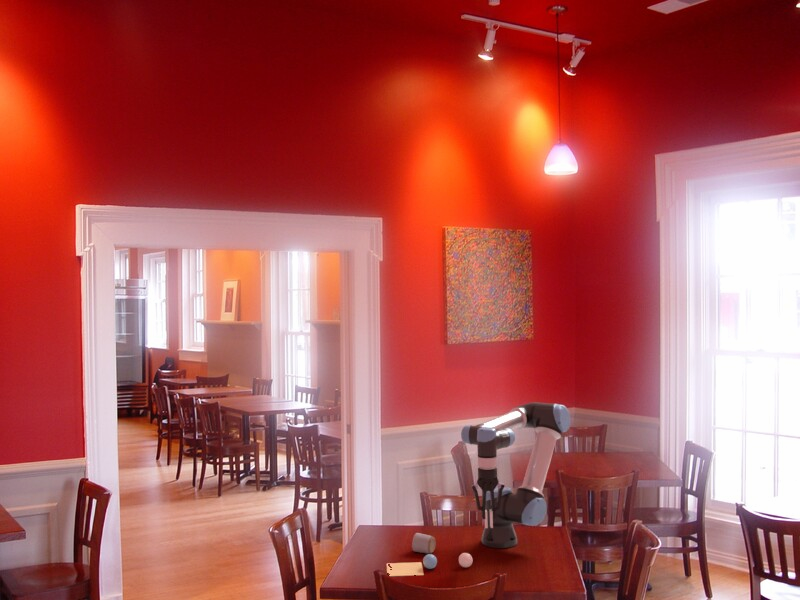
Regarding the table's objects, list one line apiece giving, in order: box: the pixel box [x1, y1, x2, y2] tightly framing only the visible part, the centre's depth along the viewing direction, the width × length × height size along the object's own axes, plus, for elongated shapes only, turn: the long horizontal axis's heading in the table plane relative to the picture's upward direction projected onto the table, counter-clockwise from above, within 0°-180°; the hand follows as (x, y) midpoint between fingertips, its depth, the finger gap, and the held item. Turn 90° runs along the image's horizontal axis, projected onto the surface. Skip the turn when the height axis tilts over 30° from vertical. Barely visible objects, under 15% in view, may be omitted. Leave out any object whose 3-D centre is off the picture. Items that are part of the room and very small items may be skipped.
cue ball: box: [458, 552, 473, 568], centre depth 306 cm, size 6×6×6 cm
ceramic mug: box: [411, 532, 437, 555], centre depth 326 cm, size 11×8×8 cm
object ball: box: [422, 553, 438, 570], centre depth 305 cm, size 6×6×6 cm
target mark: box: [386, 561, 425, 577], centre depth 305 cm, size 14×14×1 cm
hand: (488, 527), depth 306 cm, fingers closed
